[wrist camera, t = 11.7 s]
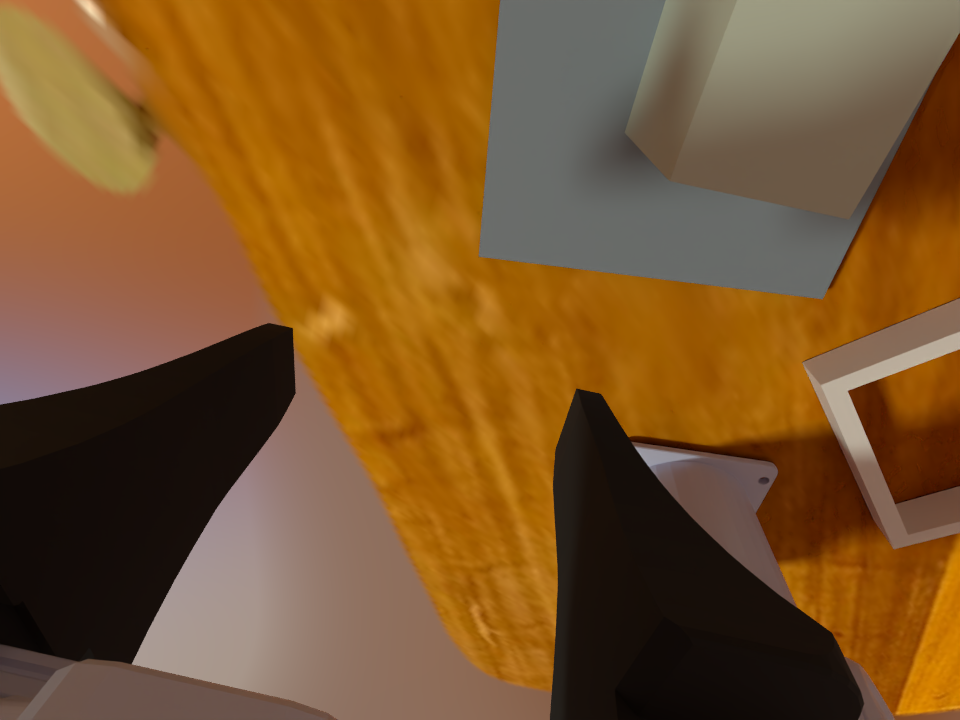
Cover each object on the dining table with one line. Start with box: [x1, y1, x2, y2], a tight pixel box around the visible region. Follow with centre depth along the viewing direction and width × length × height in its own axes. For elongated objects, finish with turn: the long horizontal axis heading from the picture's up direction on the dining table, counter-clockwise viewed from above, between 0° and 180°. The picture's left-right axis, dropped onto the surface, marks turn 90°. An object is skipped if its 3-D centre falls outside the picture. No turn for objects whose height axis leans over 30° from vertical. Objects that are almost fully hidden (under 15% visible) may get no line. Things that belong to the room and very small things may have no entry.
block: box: [625, 0, 960, 219], centre depth 13 cm, size 4×4×8 cm
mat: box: [479, 0, 936, 299], centre depth 17 cm, size 14×14×1 cm
